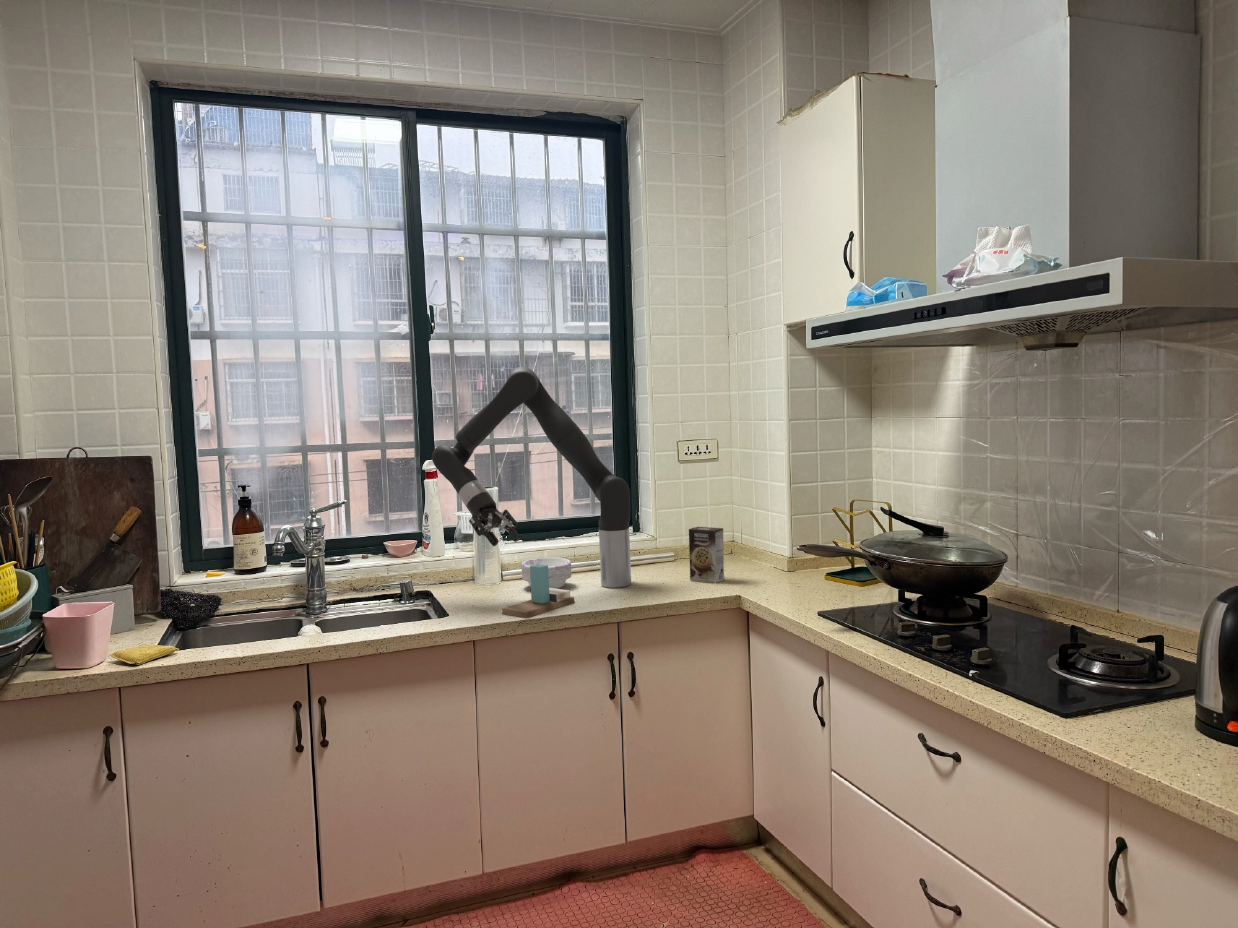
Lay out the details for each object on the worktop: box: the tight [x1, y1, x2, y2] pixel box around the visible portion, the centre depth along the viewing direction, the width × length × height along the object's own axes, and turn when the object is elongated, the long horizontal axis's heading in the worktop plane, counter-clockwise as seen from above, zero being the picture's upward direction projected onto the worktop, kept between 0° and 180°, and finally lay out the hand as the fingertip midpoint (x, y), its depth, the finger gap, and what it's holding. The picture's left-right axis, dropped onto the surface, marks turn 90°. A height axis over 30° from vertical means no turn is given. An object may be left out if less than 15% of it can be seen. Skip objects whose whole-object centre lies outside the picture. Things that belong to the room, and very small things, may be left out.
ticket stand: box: [501, 588, 575, 619], centre depth 235 cm, size 20×9×4 cm, turn 143°
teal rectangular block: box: [530, 564, 550, 604], centre depth 235 cm, size 3×4×10 cm
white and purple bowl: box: [521, 557, 573, 589], centre depth 261 cm, size 15×15×8 cm
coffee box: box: [688, 526, 725, 584], centre depth 261 cm, size 9×6×16 cm
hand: (507, 542), depth 241 cm, fingers open, 8 cm apart
